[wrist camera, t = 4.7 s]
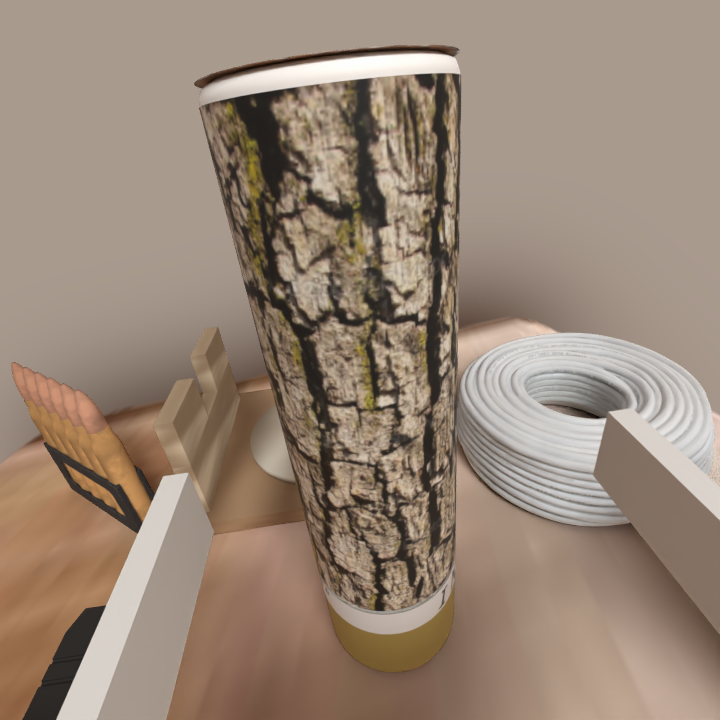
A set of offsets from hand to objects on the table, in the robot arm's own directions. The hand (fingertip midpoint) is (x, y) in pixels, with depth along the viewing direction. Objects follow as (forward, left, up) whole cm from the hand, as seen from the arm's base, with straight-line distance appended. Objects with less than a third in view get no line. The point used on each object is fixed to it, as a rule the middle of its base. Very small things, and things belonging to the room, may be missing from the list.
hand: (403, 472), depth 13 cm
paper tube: (-1, +4, -14) cm, 15 cm away
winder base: (-6, +19, -14) cm, 24 cm away
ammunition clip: (-21, +15, -14) cm, 29 cm away
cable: (+15, +14, -15) cm, 26 cm away
